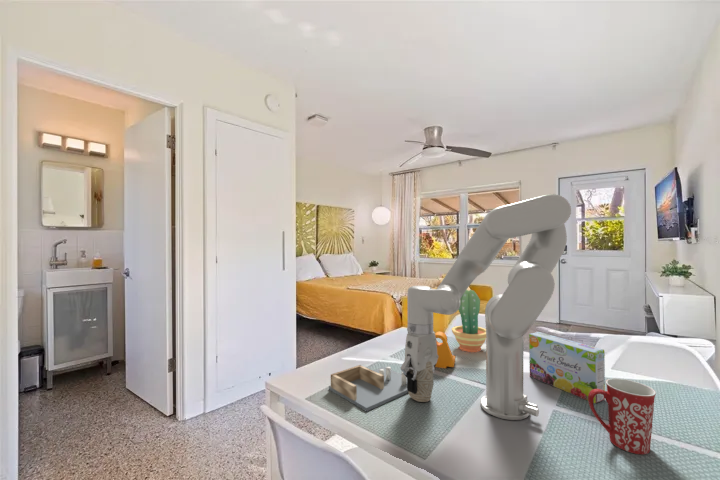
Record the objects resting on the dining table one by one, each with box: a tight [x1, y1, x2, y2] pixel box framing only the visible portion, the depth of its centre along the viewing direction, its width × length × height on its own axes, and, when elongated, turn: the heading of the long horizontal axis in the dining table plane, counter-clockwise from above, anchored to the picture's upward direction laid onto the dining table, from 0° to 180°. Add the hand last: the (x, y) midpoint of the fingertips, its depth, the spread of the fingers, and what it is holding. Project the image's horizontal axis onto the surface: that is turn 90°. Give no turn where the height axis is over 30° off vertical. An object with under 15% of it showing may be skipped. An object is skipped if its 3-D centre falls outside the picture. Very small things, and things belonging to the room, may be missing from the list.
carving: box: [408, 362, 434, 403], centre depth 100 cm, size 6×8×12 cm
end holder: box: [330, 364, 384, 400], centre depth 105 cm, size 12×12×4 cm
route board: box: [328, 366, 409, 412], centre depth 107 cm, size 18×24×5 cm
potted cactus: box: [451, 289, 486, 353], centre depth 144 cm, size 15×15×25 cm
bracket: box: [435, 331, 456, 369], centre depth 127 cm, size 11×7×12 cm, turn 68°
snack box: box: [528, 331, 606, 404], centre depth 106 cm, size 21×6×15 cm, turn 27°
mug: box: [587, 377, 657, 455], centre depth 78 cm, size 13×9×14 cm
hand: (420, 387), depth 100 cm, fingers closed on carving, 6 cm apart
